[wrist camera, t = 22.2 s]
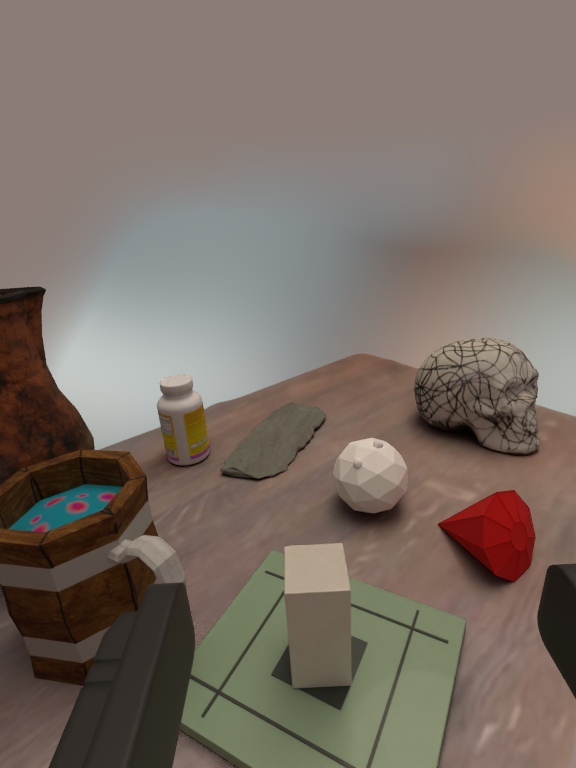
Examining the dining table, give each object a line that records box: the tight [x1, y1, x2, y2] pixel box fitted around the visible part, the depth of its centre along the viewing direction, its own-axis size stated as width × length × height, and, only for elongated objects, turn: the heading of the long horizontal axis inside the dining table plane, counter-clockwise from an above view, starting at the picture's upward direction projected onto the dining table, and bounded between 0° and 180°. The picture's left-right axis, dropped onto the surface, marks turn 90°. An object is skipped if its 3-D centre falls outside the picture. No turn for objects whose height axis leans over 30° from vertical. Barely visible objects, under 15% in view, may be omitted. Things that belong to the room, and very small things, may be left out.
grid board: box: [180, 550, 466, 768], centre depth 37 cm, size 20×18×1 cm
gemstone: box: [438, 490, 535, 582], centre depth 48 cm, size 9×9×10 cm
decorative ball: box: [332, 438, 408, 513], centre depth 55 cm, size 9×10×12 cm
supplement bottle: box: [157, 375, 210, 465], centre depth 68 cm, size 7×7×13 cm
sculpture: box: [414, 338, 540, 455], centre depth 69 cm, size 15×20×15 cm
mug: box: [0, 450, 187, 685], centre depth 39 cm, size 20×14×15 cm
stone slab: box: [221, 403, 326, 479], centre depth 72 cm, size 22×3×10 cm
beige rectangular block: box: [284, 543, 352, 688], centre depth 35 cm, size 5×5×10 cm
